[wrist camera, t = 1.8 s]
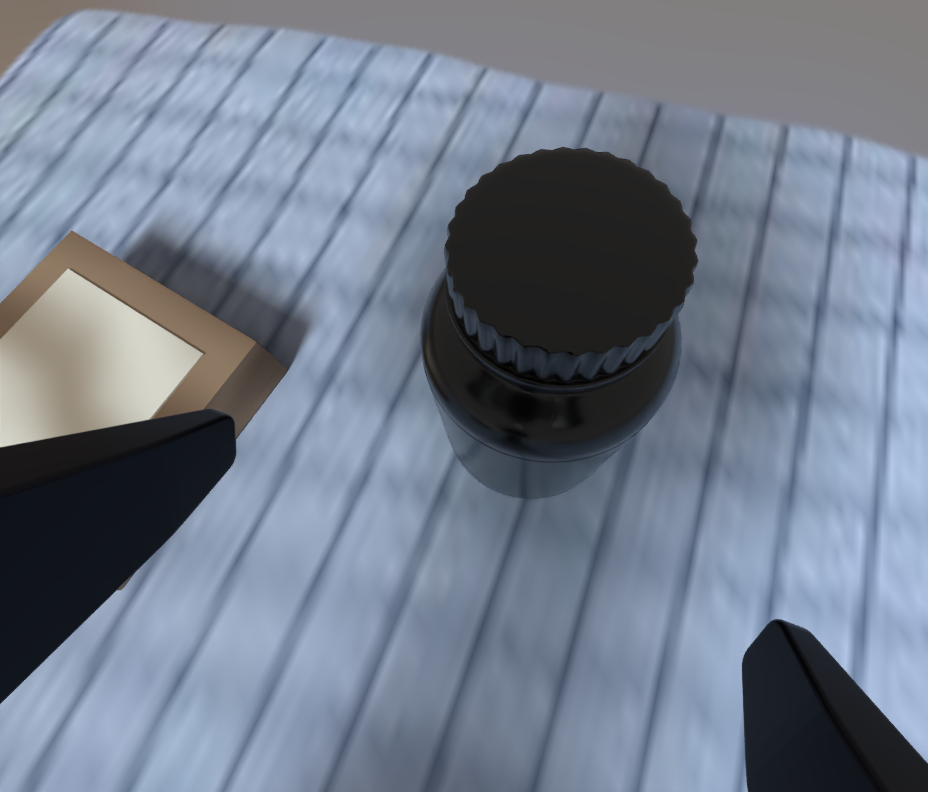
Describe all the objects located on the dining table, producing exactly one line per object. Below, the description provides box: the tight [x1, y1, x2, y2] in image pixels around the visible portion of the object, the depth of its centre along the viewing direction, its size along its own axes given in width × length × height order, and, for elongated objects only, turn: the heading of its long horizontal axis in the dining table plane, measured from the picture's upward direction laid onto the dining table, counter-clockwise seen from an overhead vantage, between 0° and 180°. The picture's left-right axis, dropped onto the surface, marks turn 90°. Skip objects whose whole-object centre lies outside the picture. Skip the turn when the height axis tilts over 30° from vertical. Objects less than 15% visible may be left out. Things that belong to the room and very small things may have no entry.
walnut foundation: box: [0, 231, 288, 590], centre depth 20 cm, size 11×11×3 cm
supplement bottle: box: [420, 147, 698, 499], centre depth 14 cm, size 7×7×12 cm
